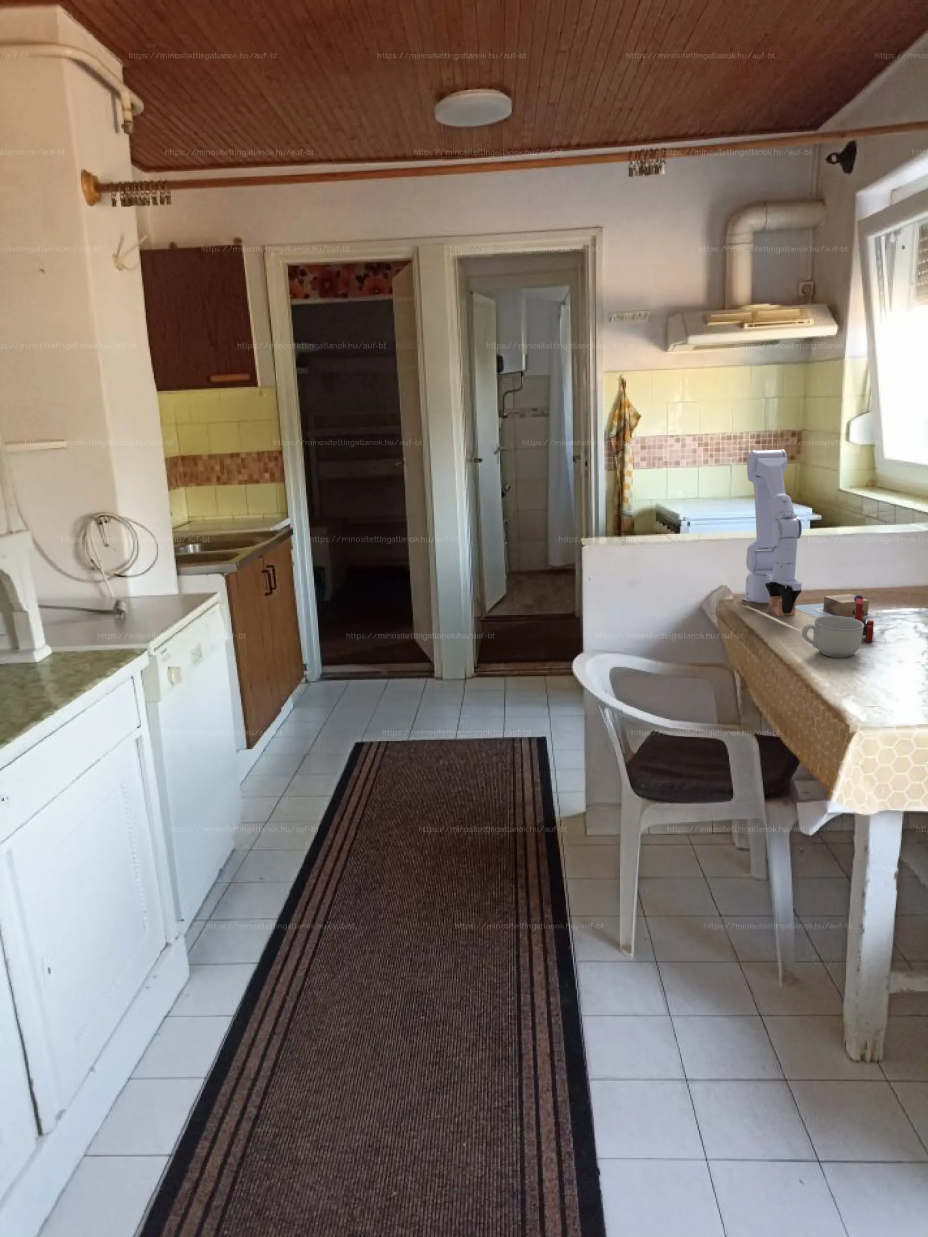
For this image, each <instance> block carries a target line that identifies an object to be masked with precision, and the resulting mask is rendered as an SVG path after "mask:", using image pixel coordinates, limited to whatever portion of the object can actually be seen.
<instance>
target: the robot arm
mask: <svg viewBox="0 0 928 1237" xmlns="http://www.w3.org/2000/svg"><path fill="white" fill-rule="evenodd" d="M787 465H788V454H787V452H786V450H785V449H782V448H781V449H772V450H751V451H750V452H749V453H748V456H747V459H746V471H747V472H746V473H747V477H748V478H747V480H748V482H750V483H752V484H753V490H754V491H753V492H754V511H755V512H754V513H755V528H756V530H755V531H756V540H754V541H753V542H751V544H749V545H748V546H747V549H746V551H747V552H746V558H745V559H746V563H745V564H746V568H747V570H748V571H749V573H748V574H747V575H746V579H745V592H744V593H745V594H744V597H746V598H743V597H742V598H743V599H744V601H746V602H754V603H759V604H760V603H761V604H769V597H773V596H781V598H782V610H783V613H784V614H785V613H791V612H792V609H793V606H794V603H795V601H797V599H798V597H799V595H800V594H801V593H802V582H799V580H797V578H796V567H797V566H796V565H797V564H796V563H797V551H798V550H797V549H798V540H799V539H800V537H802V533H803V527H802V526H803V525H802V520H801V517H799V516H798V514H795V509H794V506H793V501H792V497H791V496H789V495H788V494H786V488H785V481H784V473H785V472H786V469H787V467H788V466H787ZM743 599H742V600H743Z"/></svg>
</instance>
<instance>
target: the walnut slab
mask: <svg viewBox="0 0 928 1237" xmlns="http://www.w3.org/2000/svg"><path fill="white" fill-rule="evenodd" d="M855 596H856V595H855V594H851V593H850V594H849V593H847V594H846V593H845V594H835V595H825V596H823V597H824V598H823V599H824V600H823V603H824V608H823V610H824V611H826V612H829V613H831V614H834V615H836V616H843V617H849V616H852V611H853V610H854V609H855V604H856V602H855V601H854V598H855ZM869 604H870V600H869V599H866V598H863V610H864V611H865V615H868V612H869Z"/></svg>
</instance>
